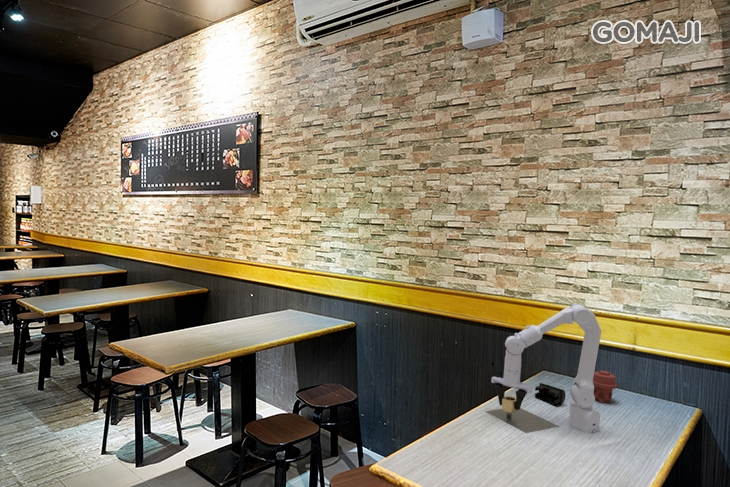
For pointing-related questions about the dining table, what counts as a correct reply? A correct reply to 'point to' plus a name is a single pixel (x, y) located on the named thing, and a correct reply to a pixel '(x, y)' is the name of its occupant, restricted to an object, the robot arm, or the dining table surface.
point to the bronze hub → (509, 404)
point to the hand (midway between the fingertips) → (509, 406)
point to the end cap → (550, 394)
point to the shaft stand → (523, 420)
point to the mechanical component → (603, 386)
